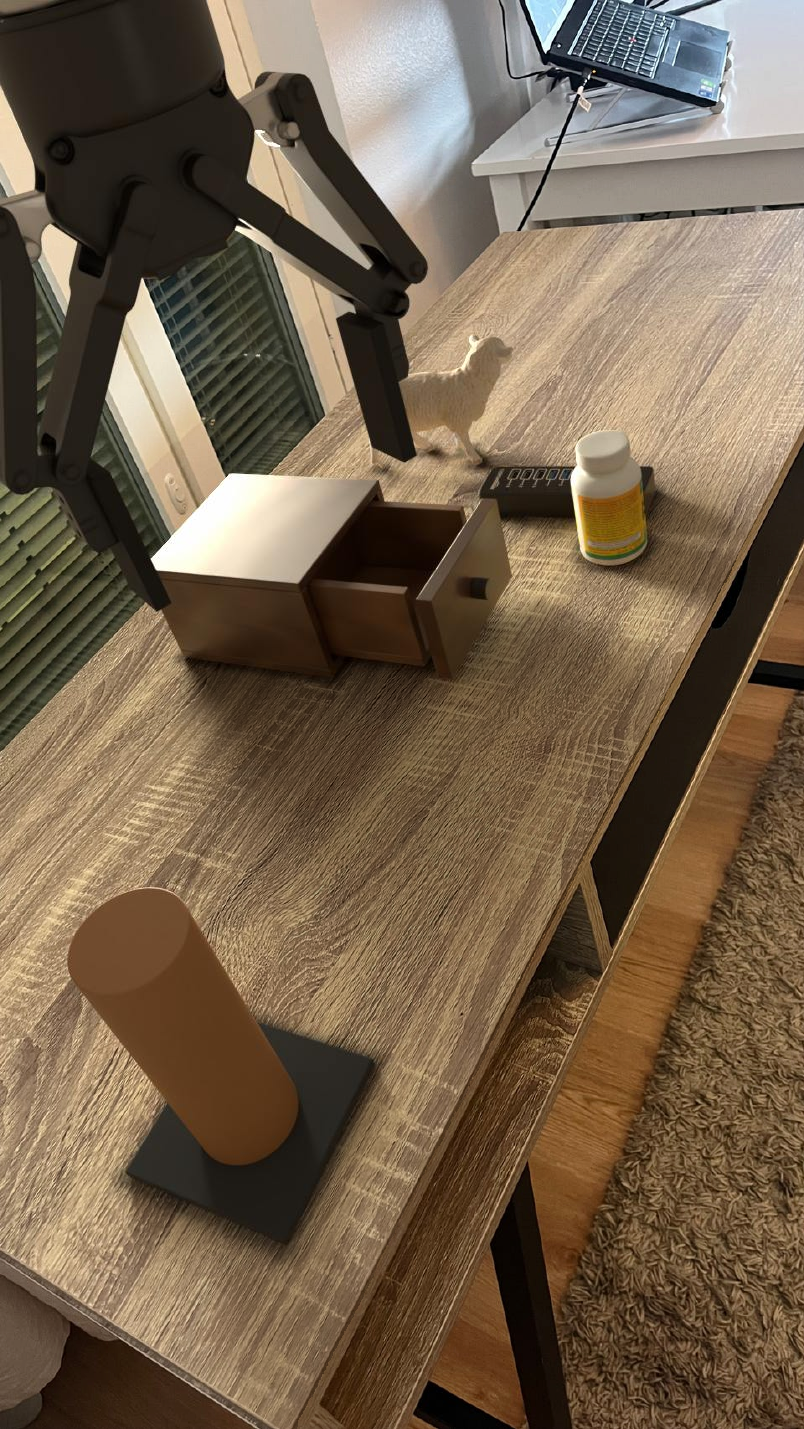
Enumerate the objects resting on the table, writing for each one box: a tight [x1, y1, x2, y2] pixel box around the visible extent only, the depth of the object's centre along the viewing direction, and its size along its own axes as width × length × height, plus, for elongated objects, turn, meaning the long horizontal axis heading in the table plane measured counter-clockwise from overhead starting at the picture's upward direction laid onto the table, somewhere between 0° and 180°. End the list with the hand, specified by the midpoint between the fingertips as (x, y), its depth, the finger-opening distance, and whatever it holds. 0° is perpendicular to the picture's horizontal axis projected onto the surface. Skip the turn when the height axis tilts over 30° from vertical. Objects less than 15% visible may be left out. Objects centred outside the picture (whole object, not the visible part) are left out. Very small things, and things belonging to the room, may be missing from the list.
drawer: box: [306, 499, 513, 680], centre depth 82 cm, size 15×12×7 cm
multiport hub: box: [477, 465, 657, 518], centre depth 92 cm, size 4×14×2 cm, turn 68°
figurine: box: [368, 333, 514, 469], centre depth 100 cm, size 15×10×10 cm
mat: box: [125, 1020, 376, 1245], centre depth 57 cm, size 10×10×1 cm
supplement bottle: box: [571, 429, 648, 566], centre depth 83 cm, size 5×5×10 cm
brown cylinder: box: [66, 886, 299, 1165], centre depth 52 cm, size 6×6×16 cm
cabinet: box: [151, 473, 386, 679], centre depth 87 cm, size 15×14×9 cm
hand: (278, 521), depth 49 cm, fingers open, 13 cm apart
